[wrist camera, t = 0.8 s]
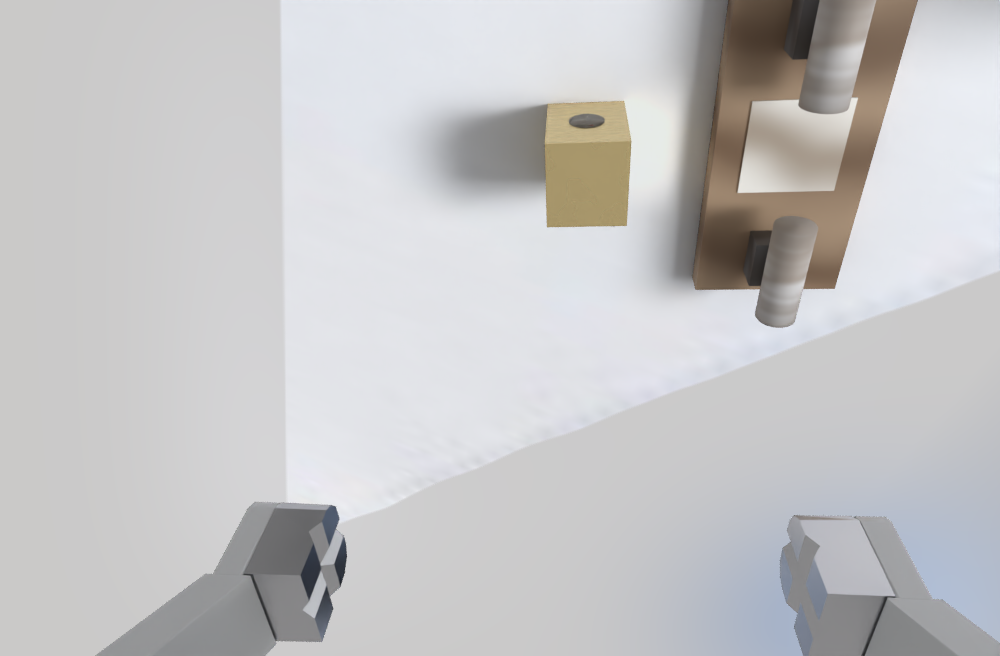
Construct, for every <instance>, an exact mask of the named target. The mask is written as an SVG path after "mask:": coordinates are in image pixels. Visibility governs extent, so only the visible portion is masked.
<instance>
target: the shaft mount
mask: <svg viewBox="0 0 1000 656" xmlns="http://www.w3.org/2000/svg"><path fill="white" fill-rule="evenodd" d="M917 1H918V0H728V7H727V15H726V23H725V31H724V38H723V46H722V54H721V61H720V69H719V77H718V84H717V92H716V100H715V107H714V115H713V123H712V130H711V138H710V146H709V154H708V161H707V169H706V177H705V184H704V192H703V200H702V207H701V215H700V223H699V230H698V238H697V246H696V253H695V261H694V269H693V277H692V278H693V282H694V286H695V290H722V289H760V292H759V297H758V302H757V306H756V311H755V316H756V318H757V319H758V320H759V321H760V322H761V323H763V324H765V325H767V326H771V327H776V328H783V327H788V326H790V325H792V324H793V323H794V322H795V319H796V315H797V311H798V307H799V303H800V299H801V295H802V291H803V289H835V285H836V282H837V278H838V275H839V271H840V268H841V265H842V261H843V258H844V254H845V251H846V247H847V244H848V240H849V237H850V233H851V230H852V226H853V223H854V219H855V216H856V213H857V209H858V206H859V202H860V199H861V195H862V192H863V188H864V185H865V181H866V178H867V174H868V171H869V167H870V164H871V160H872V157H873V154H874V150H875V147H876V143H877V140H878V136H879V133H880V129H881V126H882V122H883V119H884V115H885V112H886V108H887V105H888V101H889V98H890V95H891V91H892V88H893V84H894V81H895V77H896V74H897V70H898V67H899V63H900V60H901V56H902V53H903V49H904V46H905V43H906V39H907V36H908V32H909V29H910V25H911V22H912V18H913V15H914V11H915V8H916V4H917Z"/></svg>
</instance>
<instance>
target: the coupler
mask: <svg viewBox="0 0 1000 656" xmlns="http://www.w3.org/2000/svg"><path fill="white" fill-rule="evenodd" d="M630 156H631V137H630V131H629V125H628V120H627V114H626V109H625V103H624V101H613V102H586V103H559V104H548V107H547V121H546V134H545V170H546V208H547V227H585V226H627V210H628V192H629V174H630Z"/></svg>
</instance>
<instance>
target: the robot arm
mask: <svg viewBox="0 0 1000 656" xmlns="http://www.w3.org/2000/svg"><path fill="white" fill-rule="evenodd" d="M338 522H339V516H338V512H337V509H336V506H332V505H319V504H299V503H271V502H254V503H253V504H252V505H251V506H250V507H249V508H248V509H247V511H246V513H245V515H244V517H243V518H242V521H241V522H240V524H239V526H238V528H237V530H236V532H235V533H234V535H233V538H232V540H231V541H230V543H229V545H228V547H227V549H226V550H225V552H224V554H223V556H222V558H221V560H220V562H219V564H218V566H217V567H216V569H215V571H214V573H213V574H205V575H203V576H202V577H201V578H199V579H198V580H196V581H195V582H194V583H192V584H191V585H190V586H188V587H187V588H186V589H184V590H183V591H182V592H180V593H179V594H178V595H177V596H175V597H174V598H172V599H171V600H170V601H168V602H167V603H165V604H164V605H163V606H161V607H160V608H159V609H157V610H156V611H155V612H153V613H152V614H151V615H149V616H148V617H147V618H145V619H144V620H143V621H141V622H140V623H139V624H137V625H136V626H135V627H134V628H132V629H131V630H129V631H128V632H126V634H124V635H122V636H121V637H120V638H118V639H117V640H116V641H115V642H113V643H112V644H110V645H109V646H108V647H106V648H105V649H104V650H102V651H101V652H100V653H98V654H97V655H96V656H265V655H266V654H267V653H268V652H269V651H270V650H271V649H272V648H273V647H274V646H275V645H276V641H306V642H307V641H308V642H322V641H323V638H324V635H325V632H326V629H327V626H328V623H329V620H330V617H331V614H332V610H333V606H332V602H331V599H330V596H331V595H332V594H333V593H334V592H335V591H336V590H337V589H339V588H340V587H341V583H342V580H343V577H344V574H345V567H346V559H347V551H346V542H345V538H344V535H343V534H341V533H340V532H339V531H338V530H337V529H336V527H337V524H338ZM787 532H788V534H789V538H790V540H791V542H790V543H789V544H788V545H786V546H785V547H783V549H782V554H781V559H780V578H781V584H782V589H783V593H784V596H785V599H786V603H787V604H788V605H789V606H790V607H791V608H792V609H793V610H795V611H796V612H797V613H798V614H797V618H796V621H795V625H794V628H795V632H796V635H797V638H798V640H799V644H800V647H801V650H802V653H803V656H1000V643H999V642H998V641H996V640H995V639H994V638H992V637H991V636H990V635H988V634H987V633H986V632H984V631H983V630H982V629H980V628H979V627H977V626H976V625H975V624H974V623H973V622H971V621H970V620H968V619H967V618H966V617H965V616H963V615H962V614H960V613H959V612H958V611H957V610H955V609H954V608H953V607H951V606H950V605H949V604H947V603H946V602H945V601H943V600H939V599H932V597H931V595H930V593H929V591H928V589H927V587H926V586H925V584H924V582H923V580H922V578H921V576H920V574H919V572H918V571H917V569H916V567H915V565H914V563H913V561H912V559H911V558H910V556H909V554H908V552H907V550H906V548H905V546H904V544H903V543H902V541H901V539H900V537H899V535H898V533H897V531H896V530H895V528H894V526H893V524H892V522H891V521H890V520H889V519H887V518H886V517H860V516H859V517H857V516H855V517H852V516H804V515H794V516H793V517H792V518H791V520H790V521H789V525H788V529H787Z"/></svg>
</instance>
